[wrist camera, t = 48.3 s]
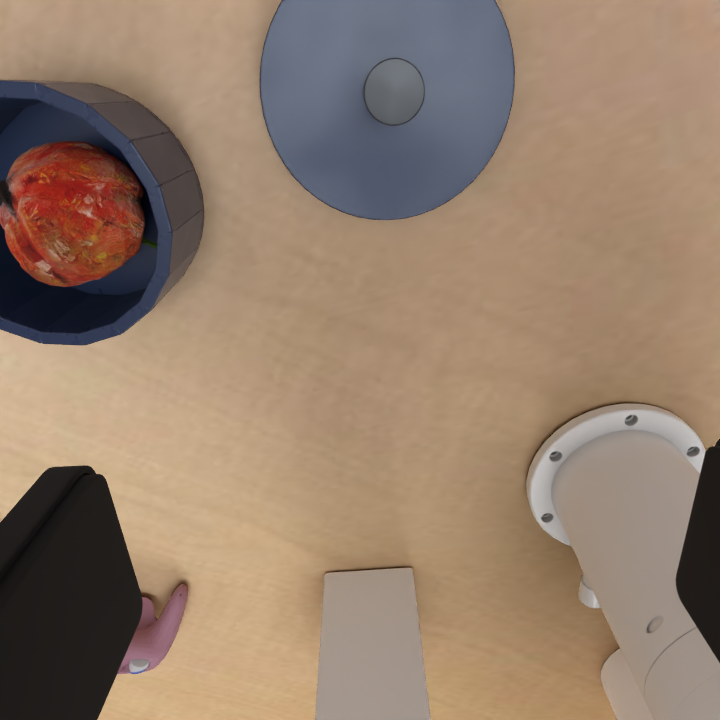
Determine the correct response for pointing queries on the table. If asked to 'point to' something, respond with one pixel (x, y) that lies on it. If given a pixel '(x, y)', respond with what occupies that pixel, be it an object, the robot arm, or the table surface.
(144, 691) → the table surface
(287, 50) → the lid
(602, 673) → the cylinder with rectangular tab
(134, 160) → the bowl
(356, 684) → the milk carton
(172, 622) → the video game controller
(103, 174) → the pomegranate
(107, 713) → the table surface
